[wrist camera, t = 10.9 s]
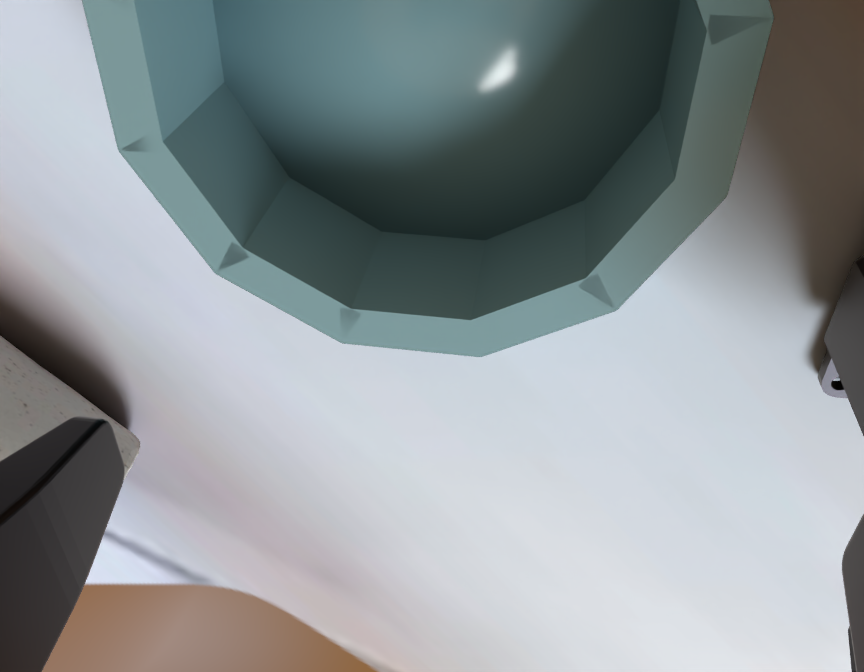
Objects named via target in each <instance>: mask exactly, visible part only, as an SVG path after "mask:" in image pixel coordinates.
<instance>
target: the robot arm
mask: <svg viewBox="0 0 864 672" xmlns="http://www.w3.org/2000/svg"><path fill="white" fill-rule="evenodd" d="M824 341H825V344H826V346H827V349H828V350H827V352H826V355H825V357H824V360H823V362H822V365H821V367H820V370H819V372H818V379H819V382H820V385H821V387H822V389H823V391H824V392H825V393H826V394H827V395H830V396H833V397H840V398H848V399H849V402H850V404H851V407H852V409H853V411H854V414H855V416H856V419H857V421H858V423H859V426H860V428H861V431H862V433H863V436H864V255H862V256H861V257H860V258H858V259H857V260H856V261H855V262H854V263H853V265H852V268H851V270H850V273H849V275H848V278H847V280H846V283H845V285H844V288H843V290H842V293H841V296H840V298H839V301H838V303H837V306H836V308H835V311H834V313H833V316H832V319H831V321H830V324H829V326H828V329H827V331H826V334H825V337H824ZM837 377H839V378H840V381H833V379H835V378H837ZM124 474H125V467H124V462H123V458H122V455H121V452H120V449H119V446H118V443H117V440H116V436H115V433H114V430H113V427H112V425H111V424H110V423H109V422H108V421H107V420H105V419H103V418H94V417H85V416H75V417H72V418H70V419H68V420H67V421H65V422H63V423H62V424H60V425H58V426H57V427H55V428H53V429H52V430H50V431H49V432H47V433H45V434H44V435H42V436H40V437H39V438H37V439H35V440H34V441H32V442H31V443H29V444H27V445H26V446H24V447H22V448H21V449H19V450H17V451H16V452H14V453H13V454H11V455H9V456H8V457H6V458H4V459H3V460H1V461H0V672H42V670H43V668H44V666H45V664H46V662H47V660H48V658H49V656H50V654H51V652H52V650H53V648H54V646H55V644H56V642H57V640H58V638H59V636H60V634H61V632H62V630H63V629H64V627H65V625H66V623H67V620H68V618H69V617H70V615H71V613H72V611H73V609H74V606H75V604H76V602H77V600H78V598H79V596H80V594H81V592H82V589H83V587H84V584H85V582H86V579H87V577H88V575H89V572H90V569H91V567H92V564H93V561H94V559H95V556H96V553H97V551H98V548H99V545H100V543H101V540H102V537H103V535H104V532H105V529H106V527H107V524H108V521H109V519H110V516H111V513H112V511H113V508H114V505H115V503H116V500H117V497H118V495H119V492H120V489H121V487H122V484H123V480H124ZM842 573H843V581H844V588H845V595H846V602H847V609H848V616H849V623H850V626H849V629H848V635H849V646H850V657H851V668H852V672H864V514H863V516H862V518H861V520H860V522H859V524H858V526H857V528H856V529H855V531H854V533H853V535H852V537H851V539H850V541H849V543H848V545H847V547H846V549H845V551H844V555H843V560H842Z"/></svg>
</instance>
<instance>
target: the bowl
mask: <svg viewBox="0 0 864 672" xmlns="http://www.w3.org/2000/svg"><path fill="white" fill-rule="evenodd" d="M82 3H83V7H84V11H85V15H86V19H87V23H88V27H89V32H90V36H91V40H92V44H93V48H94V52H95V56H96V61H97V65H98V69H99V73H100V77H101V81H102V85H103V89H104V94H105V98H106V102H107V106H108V110H109V114H110V118H111V123H112V127H113V131H114V135H115V139H116V143H117V147H118V150H119V152H120V153H121V155H122V156H123V157H124V158H125V160H126V161H127V162H128V164H129V165H130V166H131V167H132V169H133V170H134V171H135V172H136V174H137V175H138V176H139V178H140V179H141V180H142V181H143V183H144V184H145V185H146V186H147V188H148V189H149V190H150V191H151V193H152V194H153V195H154V197H155V198H156V199H157V200H158V202H159V203H160V204H161V205H162V207H163V208H164V209H165V210H166V212H167V213H168V214H169V216H170V217H171V218H172V219H173V221H174V222H175V223H176V224H177V226H178V227H179V228H180V230H181V231H182V232H183V233H184V235H185V236H186V237H187V238H188V240H189V241H190V242H191V243H192V245H193V246H194V247H195V249H196V250H197V251H198V252H199V254H200V255H201V256H202V257H203V259H204V260H205V261H206V262H207V264H208V265H209V266H210V268H211V269H212V270H213V271H214V273H216V274H217V275H219V276H221V277H222V278H224V279H226V280H228V281H230V282H231V283H233V284H235V285H237V286H239V287H241V288H242V289H244V290H246V291H248V292H250V293H251V294H253V295H255V296H257V297H259V298H261V299H262V300H264V301H266V302H268V303H270V304H271V305H273V306H275V307H277V308H279V309H281V310H282V311H284V312H286V313H288V314H290V315H291V316H293V317H295V318H297V319H299V320H301V321H302V322H304V323H306V324H308V325H310V326H311V327H313V328H315V329H317V330H319V331H320V332H322V333H324V334H326V335H328V336H330V337H331V338H333V339H335V340H337V341H339V342H340V343H344V344H354V345H364V346H374V347H384V348H394V349H404V350H414V351H424V352H434V353H444V354H454V355H464V356H474V357H480V356H481V357H483V356H486V355H489V354H491V353H494V352H497V351H500V350H503V349H506V348H509V347H512V346H515V345H518V344H521V343H524V342H526V341H529V340H532V339H535V338H538V337H541V336H544V335H547V334H550V333H553V332H556V331H559V330H562V329H564V328H567V327H570V326H573V325H576V324H579V323H582V322H585V321H588V320H591V319H594V318H597V317H599V316H602V315H605V314H608V313H611V312H614V311H616V310H618V309H619V308H620V307H621V306H622V305H623V303H624V302H625V301H626V300H627V299H628V298H629V297H630V296H631V295H632V294H633V293H634V292H635V291H636V290H637V289H638V288H639V287H640V286H641V285H642V284H643V283H644V282H645V281H646V280H647V279H648V278H649V277H650V276H651V275H652V274H653V273H654V271H655V270H656V269H657V268H658V267H659V266H660V265H661V264H662V263H663V262H664V261H665V260H666V259H667V258H668V257H669V256H670V255H671V254H672V253H673V252H674V251H675V250H676V249H677V248H678V247H679V246H680V245H681V244H682V243H683V242H684V241H685V239H686V238H687V237H688V236H689V235H690V234H691V233H692V232H693V231H694V230H695V229H696V228H697V227H698V226H699V225H700V224H701V223H702V222H703V221H704V220H705V219H706V218H707V217H708V216H709V215H710V214H711V213H712V212H713V211H714V210H715V209H716V207H717V206H718V205H719V204H720V203H721V202H722V201H723V200H724V199H725V198H726V196H727V194H728V191H729V187H730V183H731V179H732V175H733V172H734V168H735V164H736V160H737V156H738V153H739V149H740V145H741V141H742V137H743V134H744V130H745V126H746V122H747V118H748V115H749V111H750V107H751V103H752V99H753V96H754V92H755V88H756V84H757V80H758V77H759V73H760V69H761V65H762V61H763V58H764V54H765V50H766V46H767V42H768V39H769V35H770V31H771V27H772V23H773V20H774V15H773V12H772V9H771V6H770V2H769V0H82Z"/></svg>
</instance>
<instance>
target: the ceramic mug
mask: <svg viewBox="0 0 864 672" xmlns="http://www.w3.org/2000/svg"><path fill="white" fill-rule="evenodd" d="M75 416H85V417H94V418H103V419H105V420H107V421H108V422H109V423H110V424H111V425H112V427H113V430H114V433H115V436H116V440H117V443H118V446H119V449H120V452H121V455H122V458H123V462H124V467H125V474H124V479H125V478H126V475H127V473H128V472H129V470H130V469H131V467H132V466H133V464H134V460H135V458H136V457H137V455H138V454H139V448H140V441H139V440H138V438H137V437H136V436H135V435H134V434H133V433H132V432H130V431H129V430H127V429H126V428H125V427H123V426H122V425H120V424H119V423H118V422H116V421H115V420H113V419H112V418H111V417H109V416H108V415H106V414H105V413H104V412H102V411H101V410H100V409H99V408H97V407H96V406H95V405H93V404H92V403H91V402H89V401H88V400H87V399H85V398H84V397H83V396H81V395H80V394H79V393H77V392H76V391H75V390H73V389H72V388H71V387H69V386H68V385H66V384H65V383H64V382H62V381H61V380H59V379H58V378H57V377H55V376H54V375H52V374H51V373H49V372H48V371H47V370H45V369H44V368H42V367H41V366H40V365H38V364H37V363H36V362H34V361H33V360H32V359H30V358H29V357H28V356H26V355H25V354H24V353H22V352H21V351H20V350H18V349H17V348H16V347H15V346H13V345H12V344H11V343H9V342H8V341H7V340H5V339H4V338H3V337H1V336H0V461H1V460H3V459H4V458H6V457H8V456H9V455H11V454H13V453H14V452H16V451H17V450H19V449H21V448H22V447H24V446H26V445H27V444H29V443H31V442H32V441H34V440H35V439H37V438H39V437H40V436H42V435H44V434H45V433H47V432H49V431H50V430H52V429H53V428H55V427H57V426H58V425H60V424H62V423H63V422H65V421H67V420H68V419H70V418H72V417H75Z"/></svg>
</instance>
